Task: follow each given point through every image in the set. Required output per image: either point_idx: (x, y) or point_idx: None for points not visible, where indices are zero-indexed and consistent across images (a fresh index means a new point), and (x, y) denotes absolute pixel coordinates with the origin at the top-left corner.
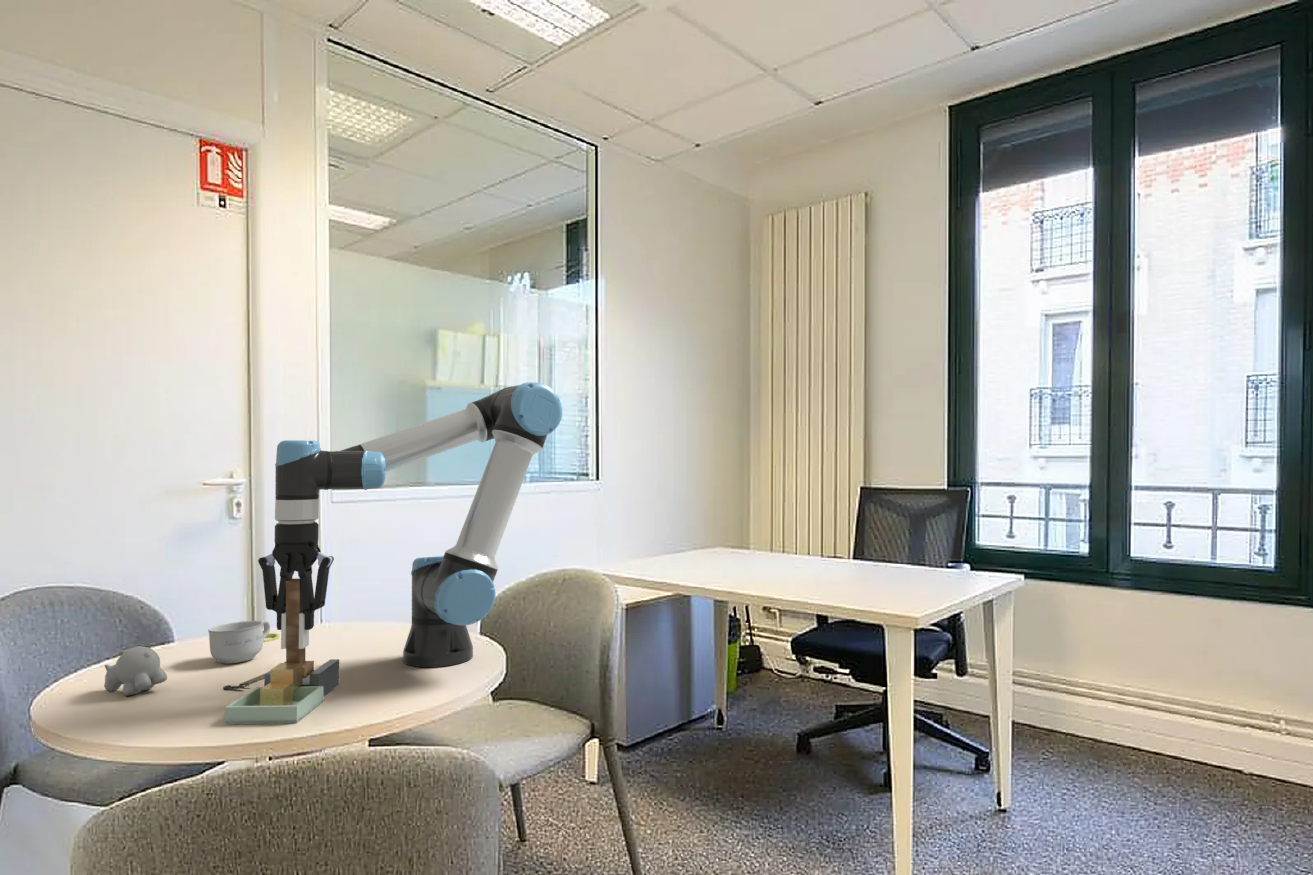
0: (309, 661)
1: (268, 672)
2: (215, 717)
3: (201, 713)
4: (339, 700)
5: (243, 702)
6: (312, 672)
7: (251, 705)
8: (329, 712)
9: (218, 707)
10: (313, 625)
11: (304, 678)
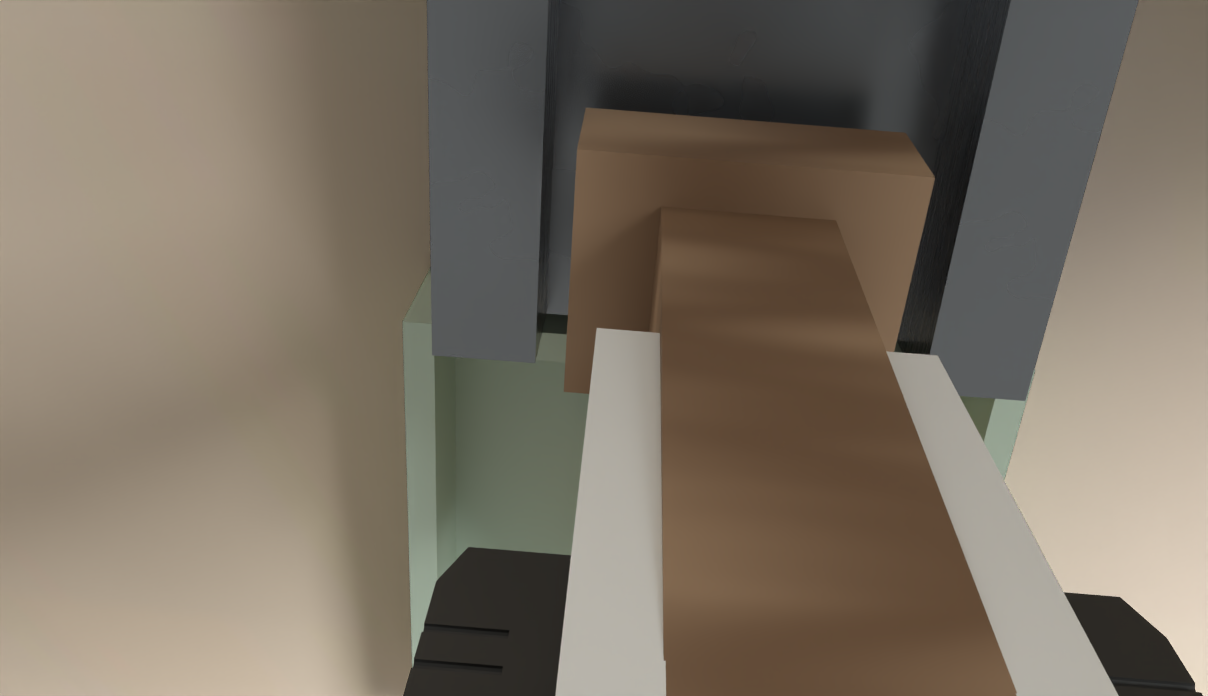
0: (882, 196)
1: (443, 293)
2: (299, 546)
3: (143, 460)
4: (1128, 291)
5: (444, 567)
6: (941, 351)
7: (455, 421)
8: (1076, 551)
9: (180, 346)
10: (1161, 657)
11: (788, 116)
